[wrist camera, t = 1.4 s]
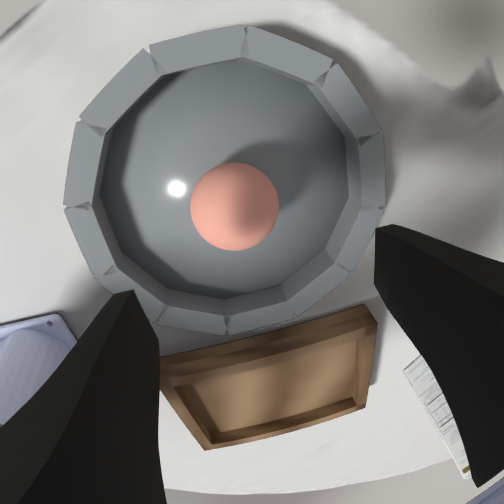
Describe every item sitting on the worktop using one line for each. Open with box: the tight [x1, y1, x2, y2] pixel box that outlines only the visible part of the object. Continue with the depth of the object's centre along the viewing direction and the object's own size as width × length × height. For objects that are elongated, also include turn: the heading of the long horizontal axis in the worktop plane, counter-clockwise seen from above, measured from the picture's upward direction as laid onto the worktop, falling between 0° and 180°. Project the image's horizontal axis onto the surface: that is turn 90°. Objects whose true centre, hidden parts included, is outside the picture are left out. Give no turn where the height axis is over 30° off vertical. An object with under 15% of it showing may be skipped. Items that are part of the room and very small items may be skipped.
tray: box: [160, 304, 378, 451], centre depth 25 cm, size 16×12×2 cm
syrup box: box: [403, 355, 471, 480], centre depth 24 cm, size 6×6×14 cm
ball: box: [190, 162, 279, 251], centre depth 15 cm, size 4×4×4 cm
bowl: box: [63, 25, 386, 336], centre depth 16 cm, size 16×16×2 cm
